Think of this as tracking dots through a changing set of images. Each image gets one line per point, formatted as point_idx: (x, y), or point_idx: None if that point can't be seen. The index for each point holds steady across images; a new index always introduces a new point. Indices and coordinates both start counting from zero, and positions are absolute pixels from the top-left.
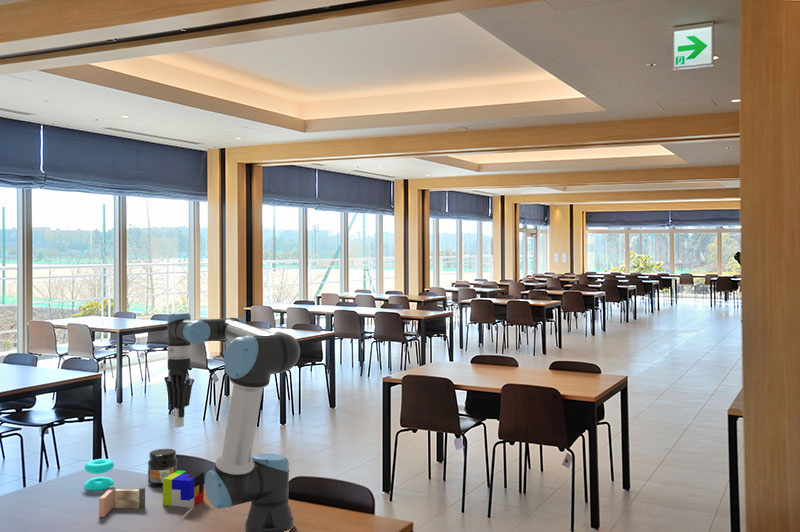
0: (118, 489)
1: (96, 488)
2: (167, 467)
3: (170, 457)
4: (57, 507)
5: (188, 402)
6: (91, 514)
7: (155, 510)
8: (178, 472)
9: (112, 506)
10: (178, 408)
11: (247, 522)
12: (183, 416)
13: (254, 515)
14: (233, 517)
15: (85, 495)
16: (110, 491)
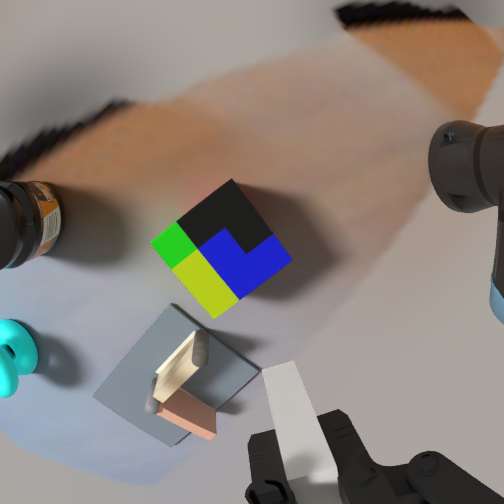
0: (158, 395)
1: (35, 364)
2: (40, 223)
3: (21, 215)
4: (96, 431)
5: (459, 474)
6: None
7: None
8: (175, 251)
9: None
10: (340, 496)
11: (465, 210)
12: (343, 416)
13: (488, 207)
14: (383, 184)
15: (47, 378)
16: (173, 415)
